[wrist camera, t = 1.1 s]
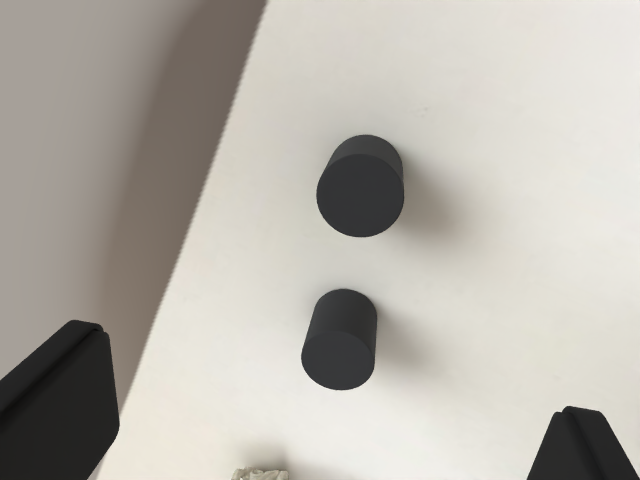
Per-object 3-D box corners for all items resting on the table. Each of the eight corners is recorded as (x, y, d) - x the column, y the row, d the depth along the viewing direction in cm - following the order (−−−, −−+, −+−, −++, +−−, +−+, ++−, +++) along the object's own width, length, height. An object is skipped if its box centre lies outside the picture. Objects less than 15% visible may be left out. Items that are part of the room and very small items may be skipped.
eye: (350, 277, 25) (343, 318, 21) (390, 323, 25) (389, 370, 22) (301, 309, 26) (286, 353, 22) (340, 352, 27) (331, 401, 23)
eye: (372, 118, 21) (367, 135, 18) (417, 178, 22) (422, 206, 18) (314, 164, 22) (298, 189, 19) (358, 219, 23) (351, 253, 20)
